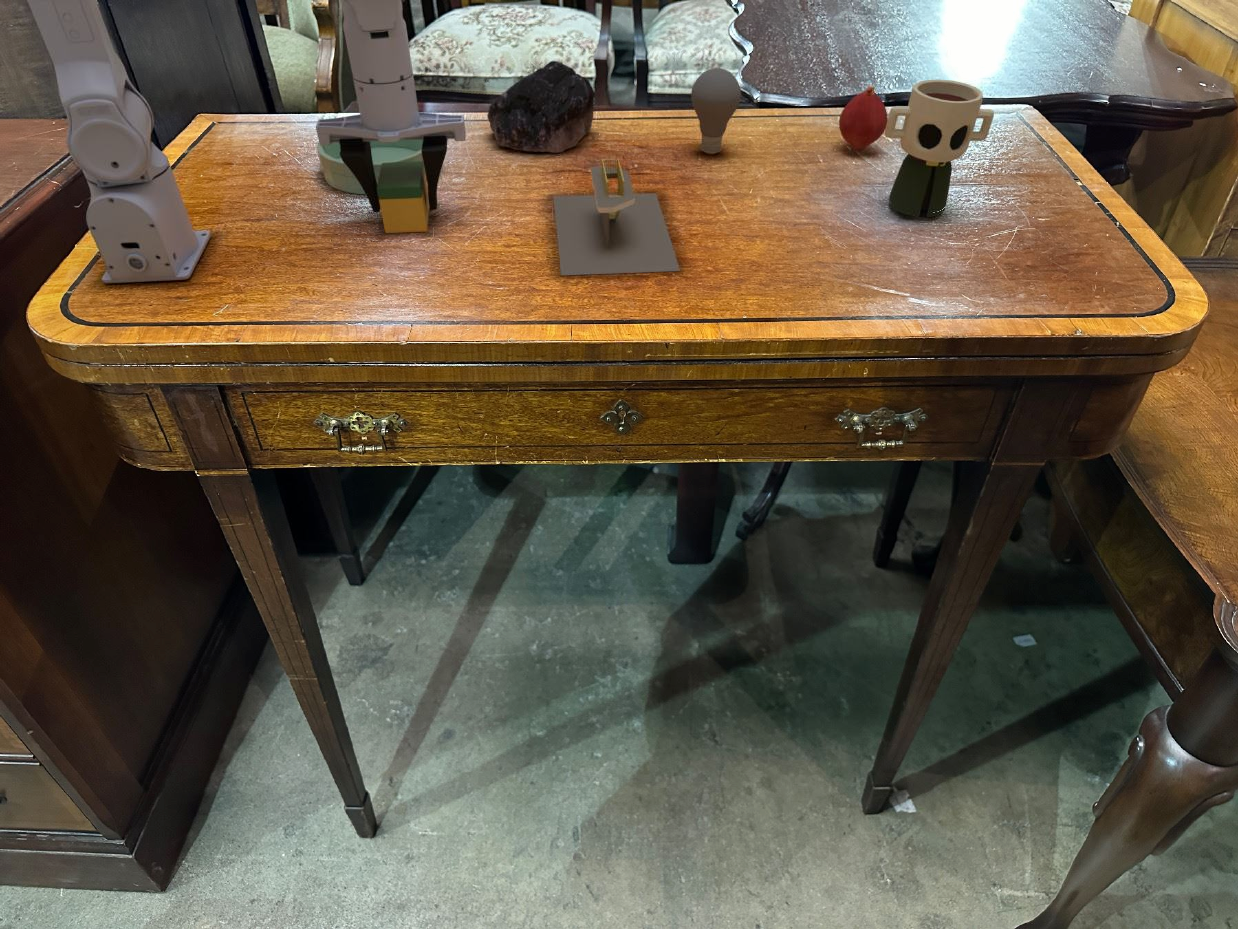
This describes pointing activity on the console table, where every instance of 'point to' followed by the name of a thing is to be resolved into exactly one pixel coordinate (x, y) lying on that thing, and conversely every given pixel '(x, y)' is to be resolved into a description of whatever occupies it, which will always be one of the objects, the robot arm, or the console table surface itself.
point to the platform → (612, 229)
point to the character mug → (934, 141)
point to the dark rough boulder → (544, 110)
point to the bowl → (381, 153)
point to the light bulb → (715, 105)
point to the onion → (863, 119)
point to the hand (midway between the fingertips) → (405, 207)
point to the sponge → (403, 197)
